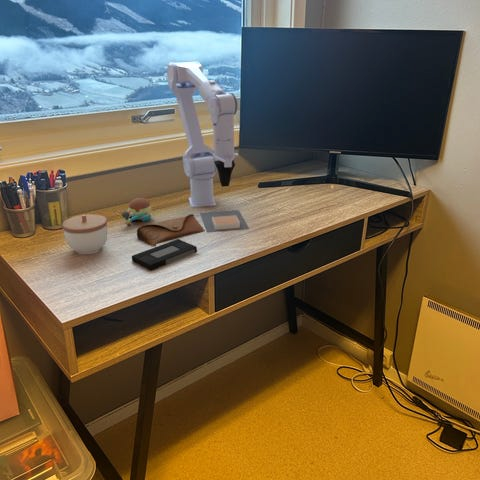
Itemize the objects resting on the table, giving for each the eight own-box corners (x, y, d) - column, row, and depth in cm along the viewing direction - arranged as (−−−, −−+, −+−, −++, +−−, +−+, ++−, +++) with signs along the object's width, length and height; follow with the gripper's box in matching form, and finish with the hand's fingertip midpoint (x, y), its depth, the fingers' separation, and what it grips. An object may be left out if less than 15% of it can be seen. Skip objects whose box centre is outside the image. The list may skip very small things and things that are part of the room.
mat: (200, 214, 146) (199, 212, 146) (238, 211, 148) (238, 210, 148) (206, 233, 132) (206, 232, 131) (249, 230, 134) (249, 228, 133)
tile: (211, 217, 138) (215, 224, 132) (235, 215, 139) (239, 222, 133) (212, 222, 138) (215, 229, 133) (235, 220, 139) (239, 227, 134)
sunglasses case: (151, 247, 123) (143, 223, 123) (141, 252, 129) (134, 229, 129) (209, 231, 133) (202, 208, 133) (198, 236, 139) (191, 214, 139)
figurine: (117, 224, 142) (111, 204, 139) (147, 211, 147) (141, 191, 144) (128, 232, 137) (122, 211, 134) (158, 218, 142) (153, 198, 138)
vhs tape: (197, 254, 121) (197, 246, 120) (150, 272, 111) (150, 265, 110) (178, 245, 125) (178, 238, 125) (132, 263, 116) (131, 255, 115)
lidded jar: (72, 242, 127) (67, 208, 123) (113, 240, 128) (109, 207, 124) (61, 259, 117) (55, 223, 114) (106, 257, 118) (101, 222, 114)
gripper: (242, 143, 128) (243, 192, 133) (233, 133, 141) (234, 178, 146) (216, 144, 127) (218, 193, 132) (209, 134, 140) (211, 179, 145)
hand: (225, 185), depth 139 cm, fingers closed
